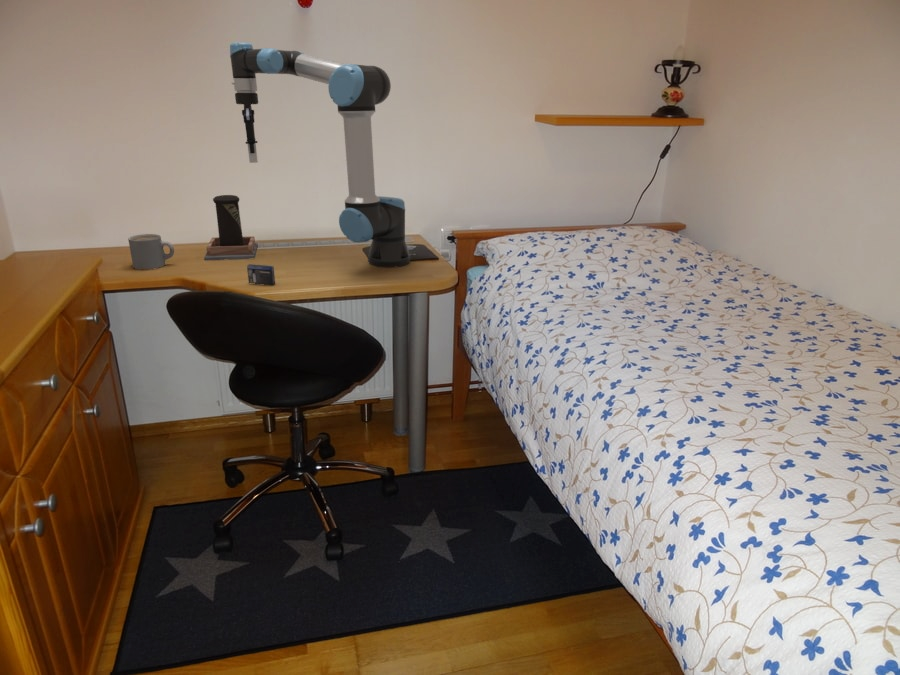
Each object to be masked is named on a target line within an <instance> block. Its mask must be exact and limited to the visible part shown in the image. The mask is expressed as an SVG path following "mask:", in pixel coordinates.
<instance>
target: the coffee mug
mask: <svg viewBox="0 0 900 675" xmlns="http://www.w3.org/2000/svg"><path fill="white" fill-rule="evenodd" d="M128 246H129V250H130V256H131V261H132V267H133V269H134V268H135V269H134V270H138V269H152V270H155V269H154V268H158V269H160V268H159V267H161V268H163V267H165V266H166V261H167V260H169V259H171V258H173V256H174V254H175V247H174V245H173V244H172V242H170V241H166V240H162V236H161V235H160V234H158V233H157V234H155V233H142V234H135V235H134V234H133V235H132V236H129V237H128ZM164 246H168V248H169V253H166V252H165V250H164ZM164 265H165V266H164ZM162 266H163V267H162Z"/></svg>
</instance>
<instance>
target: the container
mask: <svg viewBox="0 0 900 675" xmlns="http://www.w3.org/2000/svg"><path fill="white" fill-rule="evenodd" d="M212 201H213V202H214V204H215V210H216V211H215V212H216V218H217V230H218V231H217V232H218V237H219V241H220V246H244V244H243V237H244V235H243V230H242V222H241V214H240V206H239V202H240V197H239V196H238V195H234V194H222V195H216V196H215V197H213V198H212Z"/></svg>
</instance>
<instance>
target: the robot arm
mask: <svg viewBox="0 0 900 675" xmlns="http://www.w3.org/2000/svg"><path fill="white" fill-rule="evenodd" d="M229 53H230V54H229V58H230V64H231V70H232V72H231V73H232V78H233V81H231V85H233V87H234V91H235V92H234V98H235V103H236V104H237V105H243V109H242V110H241V114H242V116H243V117H242V118H243V124H245V125H244V126H245V134H246V141H245V145H246V144H247V152H248V159H249V164H251V163H255V164H256V163H258V153H257V144H258V140H256V134H255V110H254V109H252V105H258V104H259V94H258V93H257V92H258V85H257V76H256V74H267V75H268V74H270V75H273V74H274V75H275V74H276V75H291V76H295V77H300V78H303V79H307V80H312V81H315V82H318V83H323V84H325V85H328V93H329V94H328V95H329V97H330V98H331V99H332V102H333V103H334V104H335V105H337V112H338V114H339V115H340V116H341V117H342V120H343V130H344V132H343V133H344V145H345V158H346V160H345V161H346V174H347V186H348V187H347V188H348V196H347V197H346V198H345V199H344V208H345V209H343V210H342V211H341V214H339V217H338V224H339V228H340V230H341V232H342V234H343V235H344V236H345V237H346V238H347V239H348V240H349V241H351V242H353V243H366V242H369V241H371V244H370V247H369V251H368V254H367V263H368V262H369V263H370V264H369V263H368V264H369V265H371V264H372V266H374V265H375V267H379V266H381V267H382V268H396V267H395V266H398V267H403V266H406V264H407V265H408V264H410V263H409V262H411V253H410V252H409V249H408V246H407V242H406V205H405V201H404V200H403V199H402V198H399V197H390V196H378V195H377V194H376V186H375V183H376V182H375V168H374V166H375V165H374V164H375V163H374V149H373V148H374V147H373V133H372V132H373V131H372V117H373V115H374V114H375V113H376V105H379V104H382V103H383V102H384V101H385V100H387V99H388V96H389V95H390V92H391V89H392V88H391V86H392V85H391V80H390V77H389V75H388V73H387V72H386V71H385V70H384V69H382V68H381V67H378V66H377V65H364V64H352V63H351V64H347V63H342V62H339V61H334V60H330V59H327V58H326V59H325V58H321V57H318V56H314V55H309V54H306V53H304V52H302V51H298V50H284V49H283V50H282V49H275V48H270V47H269V48H267V47H264V48H255V49H254V48H253V44H252V43H250V42H232V43H231V44H229ZM381 267H380V268H381Z"/></svg>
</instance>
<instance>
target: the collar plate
mask: <svg viewBox="0 0 900 675" xmlns="http://www.w3.org/2000/svg"><path fill="white" fill-rule="evenodd" d="M255 241H256V239H255V236H243V244H244V246H220V241H219V236H218V237H211V238H210V240H209V242H208V244H207V245H206V253H205V255H204V257H203V258H204V260H203V261H223V260H224V259H228V260H248V259H249V258H254V259H255V258H256V253H257V250H258V246H259V242H255ZM220 259H221V260H220ZM249 260H250V259H249Z"/></svg>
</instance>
